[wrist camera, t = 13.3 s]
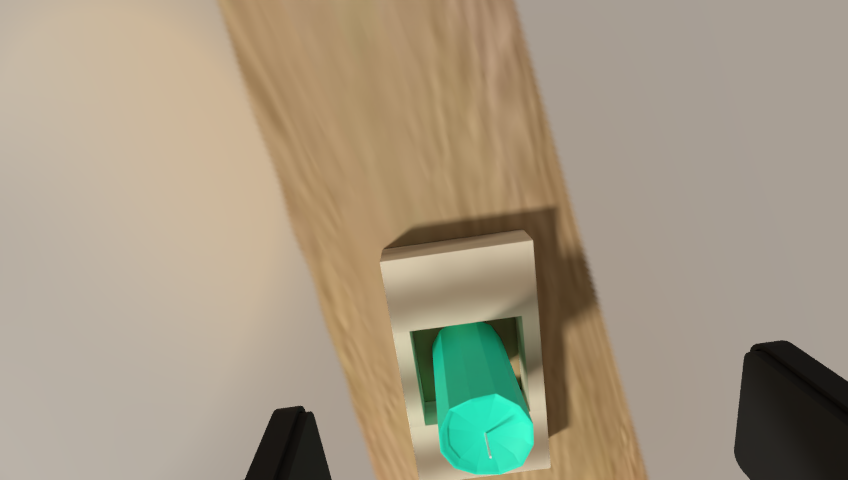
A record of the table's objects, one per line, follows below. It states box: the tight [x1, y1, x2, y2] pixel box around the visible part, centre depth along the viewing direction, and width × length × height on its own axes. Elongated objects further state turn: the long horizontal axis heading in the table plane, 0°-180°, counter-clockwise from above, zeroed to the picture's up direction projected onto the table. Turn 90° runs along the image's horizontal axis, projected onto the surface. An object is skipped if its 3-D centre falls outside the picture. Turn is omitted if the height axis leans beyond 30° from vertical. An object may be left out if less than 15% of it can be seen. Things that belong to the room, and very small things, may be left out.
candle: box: [432, 322, 534, 475], centre depth 32 cm, size 6×6×12 cm
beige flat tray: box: [380, 229, 551, 480], centre depth 36 cm, size 20×11×3 cm, turn 8°
